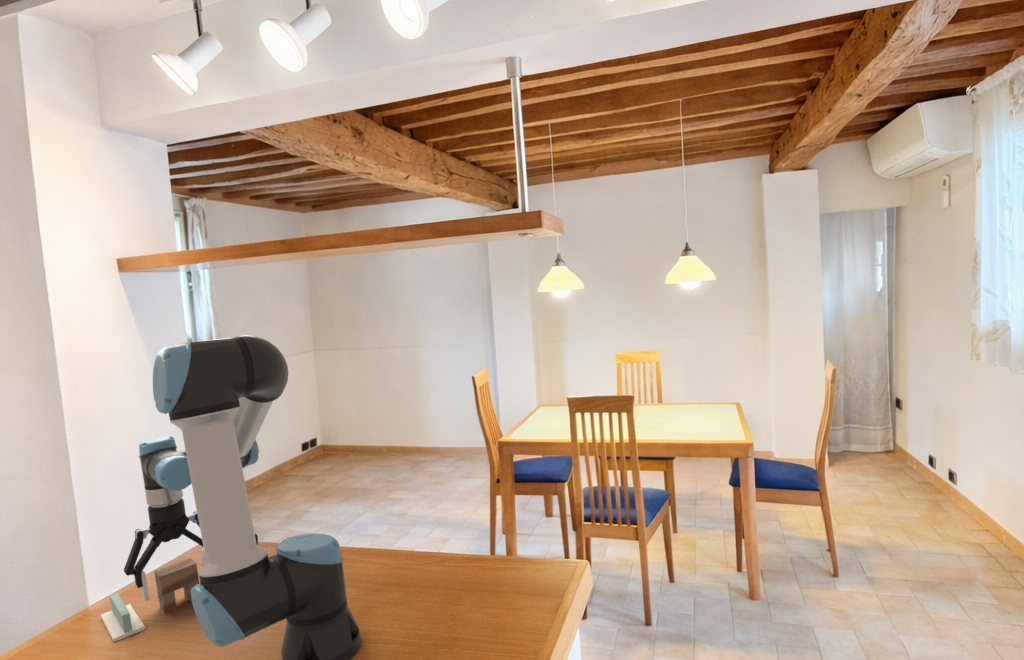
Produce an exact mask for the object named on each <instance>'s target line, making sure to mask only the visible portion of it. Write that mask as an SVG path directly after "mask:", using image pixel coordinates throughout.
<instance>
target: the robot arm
mask: <svg viewBox="0 0 1024 660" xmlns="http://www.w3.org/2000/svg"><path fill="white" fill-rule="evenodd" d="M288 380H289V367H288V363H287V361H286V358H285V355H284V354H283V353H282V351H281V350H280V349H279V348H278V347H276V345H274V344H273V343H271V342H270V341H268V340H267V339H264V338H262V337H258V336H255V335H246V334H245V335H237V336H233V337H224V338H217V339H209V340H208V339H206V340H199V341H189V342H184V343H180V344H174V345H170V346H165V347H164V348H162V349H161V350H160V351H159V352H158V353H157V355H156V357H155V360H154V364H153V371H152V395H153V401H154V402H155V408H156V410H157V412H159V413H160V414H164V415H167V414H168V416H169V421H170V423H171V424H172V425H174V426H176V427H177V428H178V429H180V430H181V432H182V438H183V439H182V440H183V443H184V449H181V450H177V449H178V446H177V444H176V440H175V437H173V436H172V435H160V436H159V435H158V436H155V437H150V438H146V439H144V440H142V441H141V442H140V443H139V445H138V451H139V453H138V454H139V456H138V458H139V460H140V465H141V467H140V468H141V472H142V478H143V485H144V490H145V499H146V505H148V507H147V512H148V519H149V526H148V528H145V529H140V528H136V529H135V530H134V541H133V544H132V546H131V549H130V552H129V555H128V558H127V561H126V563H125V565H124V568H123V573H125V575H126V576H134V577H133V578H134V583H135V586H136V587H137V589H140V588H141V592H142V598H143V599H144V601H145V602H148V601H150V594H149V588H148V581H147V575H146V572H145V571H144V569H145V567H146V566H147V564H148V562H149V561H150V560H151V558H152V557H153V555H154V554H155V552H156V550H157V549H158V548H159V547H160V545H161V544H162V543H168V542H170V541H172V540H177V539H180V537H182V535H183V536H185V537H186V538H187V539H189V540H191V541H193V542H194V543H196V544H197V545H199V546H201V547H203V548H202V549H201V550H200V551H201V557H202V563H203V564H202V565H201V567H200V569H199V570H198V577H199V584H196V585H195V586H194V587H193V588H192V589H191V600H192V603H191V604H192V606H193V610H194V613H195V615H196V618H197V620H198V623H199V624H200V627H201V628H202V631H203V632H204V634H205V636H206V637H207V639H208V640H209V641H210V642H211V643H212V644H213V645H214V646H217V647H225V646H228V645H231V644H233V643H236V642H239V641H243V640H245V639H246V638H248V637H249V636H252V635H254V634H256V633H259V632H260V631H262V630H264V629H267V628H269V627H271V626H272V625H275V624H277V623H279V622H281V621H284V620H286V625H285V631H284V634H283V639H282V644H281V649H280V650H281V652H280V653H281V660H350V659H352V658H353V657H354V656H355V655H356V654H357V653H358V651H359V649H360V648H361V644H362V637H361V630H360V627H359V625H358V623H357V621H356V619H355V618H354V615H353V614H352V611H351V610H350V607H349V604H348V599H347V591H346V579H345V573H344V566H343V565H344V564H343V561H344V557H343V556H342V552H341V551H342V550H341V547H340V543H339V541H338V539H336V538H335V537H333V536H332V535H329V534H326V533H325V534H324V533H304V534H298V535H293V536H288V537H287V538H284V539H283V540H282V541H280V542H279V543H278V544H277V547H276V550H275V552H276V554H275V555H271V556H270V557H269V554H268V551H267V549H265V548H264V547H261V546H260V545H259V544H258V545H257V544H256V538H255V534H256V533H255V529H254V523H253V522H254V521H253V518H252V513H251V508H250V501H249V496H248V491H247V485H246V481H245V474H244V470H243V469H244V468H247V467H249V466H251V465H255V464H256V463H257V462H258V461H259V458H260V457H259V454H260V449H259V445H258V442H257V439H256V438H257V436H258V434H259V432H260V430H261V428H262V425H263V423H264V421H265V419H266V417H267V416H268V413H269V410H270V409H271V406H272V404H273V402H274V401H277V399H279V398H280V397H281V396H282V394H283V393H284V391H285V388H286V387H287V383H288ZM190 485H191V488H192V492H193V493H192V494H193V497H194V503H195V507H196V508H195V509H196V510H195V511H193V512H192V514H189V515H187V514H186V507H185V500H184V499H183V497H184V495H183V493H184V492H183V490H184V489H186V488H188V487H189V486H190ZM189 522H191V523H193V524H196V525H197V527H199V530H200V535H201V536H199V535H197V534H195V533H193V532H192V531H190V530H189V529H187V526H188V525H189ZM148 535H150V536H152V537H151V539H150V540H149V543H148V545H147V547H146V548H145V550H144V551H143V553H142V554H141V556H140V553H141V549H142V547H143V544H144V540H146V539H147V536H148ZM139 556H140V558H139ZM138 558H139V560H138Z"/></svg>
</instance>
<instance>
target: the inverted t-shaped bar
mask: <svg viewBox="0 0 1024 660" xmlns="http://www.w3.org/2000/svg"><path fill="white" fill-rule="evenodd" d="M109 600H110V606H111V610H110V611H107V612H104V613H102V614H100V619H101V621H102V623H103V624H104V626H105V629H106V630H107V632H108V634H109V635H110V638H111V641H112V642H113V643H116V642H117V641H120V640H123V639H125V638H127V637H130V636H132V635H134V634H137V633H140V632H143V631H145V630H146V628H145V625H144V623H143V621H142V620H141V619H140V617H139V616H138V613H136V611H135V609H134V608H133V606H132V605H131V603H128V604H126V605H125V603H124V601H123V600H122V598H121V597H120V595H119V594H118V592H115V593H112V594H109Z"/></svg>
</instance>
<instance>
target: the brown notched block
mask: <svg viewBox="0 0 1024 660" xmlns="http://www.w3.org/2000/svg"><path fill="white" fill-rule="evenodd" d="M153 572H154V578H155V579H154V580H155V585H156V590H157V591H156V593H157V597H158V604H159V607H160V609H161V610H162V611H163V613H164V614H168V613H170V612H173V611H176V610H177V607H178V606H177V602H176V594H175V591H178V590H180V589H183V592H184V593H183V595H184V598H185V599H186V600H187V601H188V602H189V603H190V604H192V600H191V589H192V588H193V587H194V586H195V585H196V584H200V578H199V570H198V564H197V562H196V561H194V560H193V558H191V557H188V558H187V559H186V558H185V559H183V560H180V561H178V562H175V563H172V564H169V565H166V566H163V567H160V568H157V569H155V570H153Z"/></svg>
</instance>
